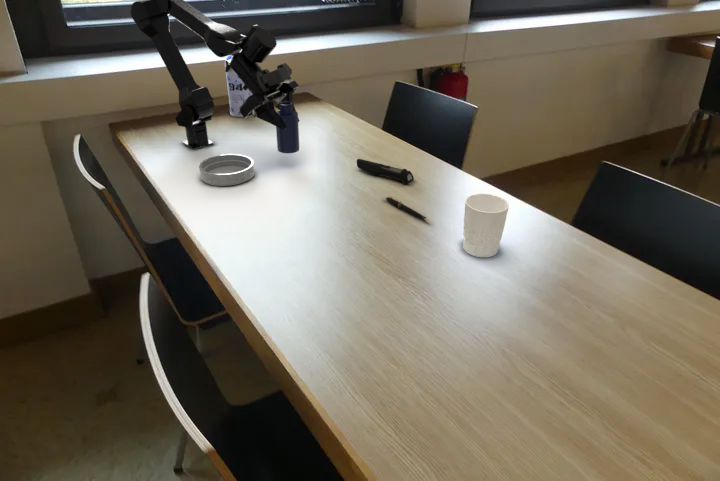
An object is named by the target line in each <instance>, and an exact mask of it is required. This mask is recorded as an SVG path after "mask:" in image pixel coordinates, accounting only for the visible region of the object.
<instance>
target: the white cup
mask: <svg viewBox="0 0 720 481" xmlns="http://www.w3.org/2000/svg"><path fill="white" fill-rule="evenodd" d="M509 207H510V203H509V202H508V201H507V200H506V199H505V198H504V197H502V196H499V195H496V194H491V193H475V194H471V195H468V197H466V198H465V202H464V214H463V215H464V216H463V232H462V235H463V239H462V247H463V248H462V249H463V250H464V251H465V253H467V254H469V255H470V256H473V257H477V258H490V257H493V256H496V255H497V253H498V252H499V249H500V243H501V240H502V238H503V232H504V230H505V227H506V226H505V225H506V221H507V216H508V212H509Z"/></svg>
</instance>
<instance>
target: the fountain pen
mask: <svg viewBox="0 0 720 481" xmlns="http://www.w3.org/2000/svg"><path fill="white" fill-rule="evenodd" d="M385 200H386V201H387V202H388V203H389V204H391V205H393V206H394V207H396V208H398V209H400V210H402V211H405V212H406V213H408V214H410V215H412V216H414V217H416V218H418V219H420V220H422V221H426V222H430V220H429V219H428V218H427V217H426V216H424V215H423V214H421V213H420V212H418V211H416V210H414V209H413V208H411V207H409V206H407V205H405V204H404V203H402V201H401V200H400V199H398V198H395V197H393V196H390V195H388V196H386V197H385Z"/></svg>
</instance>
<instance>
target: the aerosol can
mask: <svg viewBox="0 0 720 481" xmlns="http://www.w3.org/2000/svg"><path fill="white" fill-rule="evenodd" d="M240 52H241V51H240ZM240 52H239V53H240ZM235 54H236V53H235ZM235 54H232V55H228V56H226V59H225V60H224V67H225V66H226V63H225V61H227V60H230V59H232V57H233V56H234V55H235ZM225 77H226V78H225V79H226V86H227V87H226V88H227V94H228V103H229V115H230V116H231V117H233V118H244V117H243V116H242V114H241V113H240V106H241V105H242V104H243V103H244V101H245V100H246V99H247V98H248V97H249V96H251V95H253V94H252V93H251V92H250V91H249V90H246V91H245V90H244V89H243V87H244V85H245V84H244V83H243V82H242V80H241V79H240V78H239V77H238V75H237V74H236V73H235V71H234V70H233V71H230V72H225ZM253 115H255V110H254V109H253Z"/></svg>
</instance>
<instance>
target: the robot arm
mask: <svg viewBox="0 0 720 481" xmlns="http://www.w3.org/2000/svg"><path fill="white" fill-rule="evenodd" d="M169 15H170V16H171V17H173V18H174V19H175V20H177V21H178V22H179V23H181V24H182V25H184V26H185V27H187V28H188V29H190V30H191V31H193V32H194V33H195V34H197V35H198V36H199V37H200V38H202V39H203V41H204V44H205V46H206V48H208V49H209V50H210V51H211V52H212V53H213V54H214V55H215V56H216V57H218V58H225V57H228V56H230V55H232V54H235V53H236V54H235V55H234V56H233V57H232V59H230V60H227V61H225V60H224V64H225V63H226V66H225V65H224V72H225V73H226V72H230V71H233V70H234V71H235V73H236V74H237V75H238V77H239V78H240V79H241V80H242V82H243V83H244V84H245V85H244V87H243V89H244V90H245V91H246V90H249V91H250V92H251V93H252V95H251V96H249V97H248V98H247V99H246V100H245V101H244V103H243V104H242V105H241V106H240V113H241V114H242V116H243V117H242V118H243V119H248V118H250V117H253V118H255V119H256V118H257V119H260V120H262V121H263V122H266V123H269V124H271V125H272V126H274V127H275V128H276V127H278V128H280V129H282V130H285V129H286V125H285V124H284V122H283V121H282V119H281V118H280V116H279V115H278V113H277V112H278V111H280V103H281V102H292V105H293V111H296V112H297V110H296V107H295V104H294V100H293V99H294V94H295V92H296V91H297V90H298V89H299V88H300V85H299V83H298V82H297V81H296V80H295V79H292V76H291V75H292V73H293V69H292V68H291V67H290V66H289V64H288V63H287V62H282V63H280V64H278V65H277V66H276V69H274V70H272V71H270V69H267V68H265V69H263V68H262V67H261V66H260V64H262V63H264V62H265V60H266V59H267V58H268V57H269V56H270V54H271V53H273V51H274V50H275V48H276V47H277V44H278V43H277V40H276V37H275V36H274V35H273V34H272V33H270V31H268V30H266V29H264V28H261V26H260V25H259V24H254V25H252V26H251V27H250V28H249V31H248V33H247V34H246V35H243V34H241V33H240V31H238V30H237V29H235V28H233V27H231V26H229V25H227V24H223V23H218V22H216V21H214V20H212V19H210V18H209V17H208V16H206V15H205V14H203V12H201V11H199V10H198V9H197V8H195V7H194V6H192V5H191V4H190V3H188V1H187V2H186V1H185V0H137V1H134V2H133V3H132V4H131V7H130V16H131V19H132V20H133V21H134V23H135V24H136V26H137V28H138V29H139V31H140V32H142V33H143V34H144V35H146V36H147V37H148V38H150V39H151V41H152V42H153V45H154V47H155V48H156V50H157V52H158V54H159V56H160V58H161V60H162V62H163V64H164V65H165V67H166V69H167V71H168V73H169V75H170V77H171V79H172V81H173V83H174V84H175V86H176V88H177V90H178V104H179V107H180V111H179V113H178V114H177V115H176V116H175V121H176V123H177V126H179V127H183V128H184V129H185V136H186V140H183V141H182V144H184V145H185V146H187V147H188V148H190V149H192V150H196V149H199V148H200V149H201V148H203V147H208V146H212V145H214V141H212V140H211V139H209V134H208V128H207V122H208V121H212V120H213V115H214V114H213V113H214V111H215V109H216V108H215V103H214V100H215V99H214V98H213V97H212V94H211V93H210V91H209V89H208V87H207V86H203V87H202V86H200V84H198V83H197V82H196V81H195V78H194V77H193V75H192V73H191V71H190V69H189V67H188V65H187V63H186V61H185V58H184V57H183V55H182V54H181V51H180V50H179V47H178V45H177V43H176V42H175V39H174V37H173V36H172V34H171V32H170V17H169ZM239 52H240V53H239ZM274 101H275V102H276V103H277V105H276V106H275V105H274ZM276 109H278V111H277V110H276ZM253 110H254V114H253ZM298 123H300V118H299V117H298Z"/></svg>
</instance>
